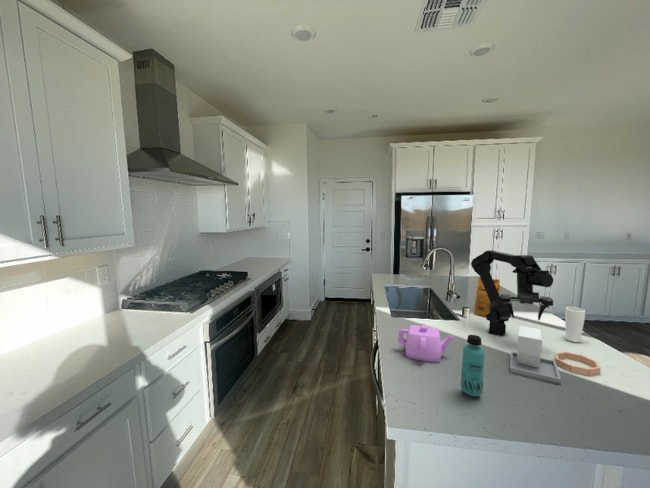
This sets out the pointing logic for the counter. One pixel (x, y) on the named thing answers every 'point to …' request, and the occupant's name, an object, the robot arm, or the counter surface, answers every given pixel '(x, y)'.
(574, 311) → the drinking glass
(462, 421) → the counter surface
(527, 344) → the supplement box
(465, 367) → the beverage bottle
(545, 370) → the tray
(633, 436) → the counter surface
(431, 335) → the teakettle
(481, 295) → the coffee package
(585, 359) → the segmented octagonal ring
